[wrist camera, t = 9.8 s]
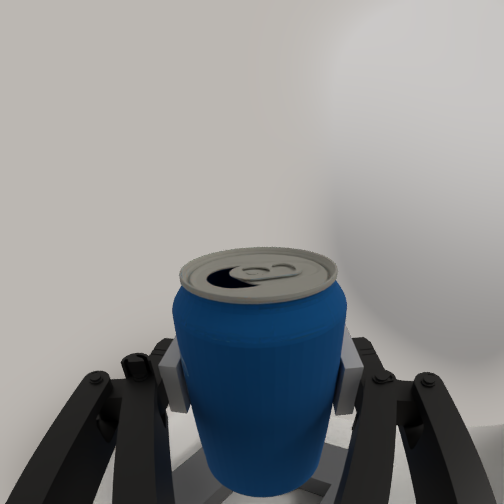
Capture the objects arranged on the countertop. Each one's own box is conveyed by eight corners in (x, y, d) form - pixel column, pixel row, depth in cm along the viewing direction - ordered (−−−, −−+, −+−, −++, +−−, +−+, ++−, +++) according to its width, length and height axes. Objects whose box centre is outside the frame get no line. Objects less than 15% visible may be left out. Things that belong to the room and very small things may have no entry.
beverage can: (202, 430, 16) (170, 252, 12) (296, 413, 17) (304, 240, 14) (218, 511, 9) (161, 317, 6) (336, 482, 11) (388, 283, 8)
